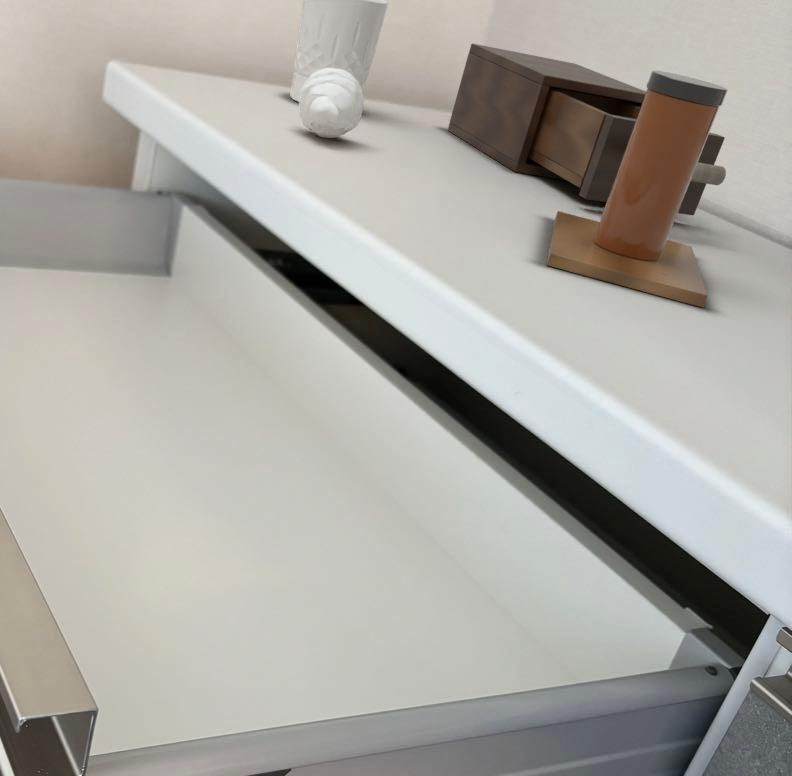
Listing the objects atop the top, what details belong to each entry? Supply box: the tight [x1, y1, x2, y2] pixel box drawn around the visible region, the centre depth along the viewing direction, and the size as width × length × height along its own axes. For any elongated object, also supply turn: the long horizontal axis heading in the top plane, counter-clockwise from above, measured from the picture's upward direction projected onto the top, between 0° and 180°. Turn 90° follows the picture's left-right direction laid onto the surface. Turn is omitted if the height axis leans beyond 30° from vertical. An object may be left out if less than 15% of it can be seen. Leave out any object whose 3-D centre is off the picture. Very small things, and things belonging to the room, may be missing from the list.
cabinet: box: [447, 42, 647, 181], centre depth 102 cm, size 16×12×8 cm
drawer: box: [528, 86, 727, 216], centre depth 91 cm, size 19×10×6 cm, turn 14°
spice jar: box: [593, 70, 728, 261], centre depth 72 cm, size 5×5×11 cm
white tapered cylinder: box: [289, 0, 389, 103], centre depth 105 cm, size 8×8×10 cm
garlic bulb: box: [298, 68, 365, 139], centre depth 90 cm, size 6×6×5 cm
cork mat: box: [546, 210, 709, 308], centre depth 75 cm, size 10×14×1 cm
